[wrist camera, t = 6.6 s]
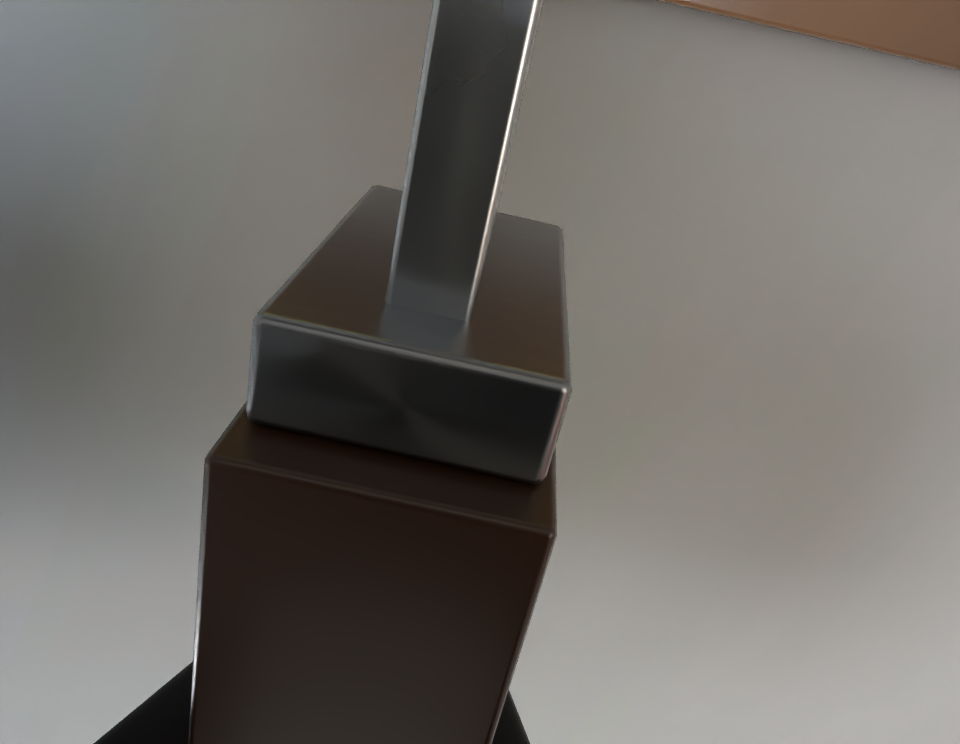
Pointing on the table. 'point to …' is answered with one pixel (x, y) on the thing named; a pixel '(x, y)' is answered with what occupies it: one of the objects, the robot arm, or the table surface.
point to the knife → (395, 442)
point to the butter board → (858, 23)
